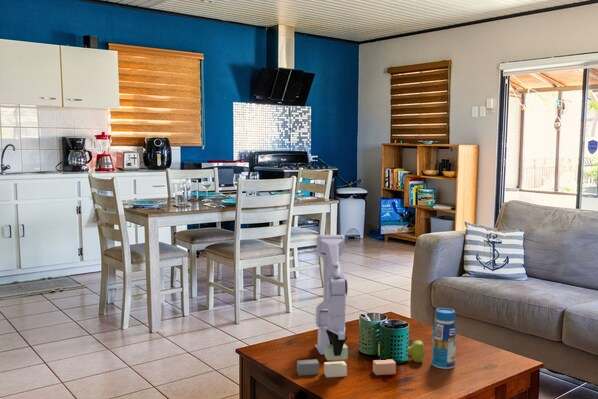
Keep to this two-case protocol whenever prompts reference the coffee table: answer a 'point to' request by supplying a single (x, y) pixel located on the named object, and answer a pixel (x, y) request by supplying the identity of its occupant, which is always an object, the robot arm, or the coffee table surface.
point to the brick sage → (330, 354)
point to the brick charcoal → (307, 367)
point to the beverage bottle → (444, 339)
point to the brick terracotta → (384, 367)
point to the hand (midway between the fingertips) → (335, 353)
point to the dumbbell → (413, 351)
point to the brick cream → (335, 369)
